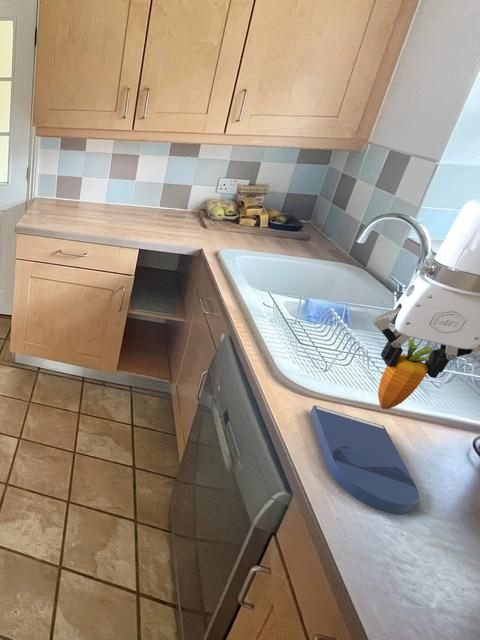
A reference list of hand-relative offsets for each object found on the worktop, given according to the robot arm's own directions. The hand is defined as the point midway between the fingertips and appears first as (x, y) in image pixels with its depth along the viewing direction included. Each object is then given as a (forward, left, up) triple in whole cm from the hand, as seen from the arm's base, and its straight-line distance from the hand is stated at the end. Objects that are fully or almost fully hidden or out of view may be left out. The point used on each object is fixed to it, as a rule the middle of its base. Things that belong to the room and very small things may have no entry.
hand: (408, 366), depth 73 cm
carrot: (0, 0, -10) cm, 10 cm away
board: (0, +2, -22) cm, 22 cm away
